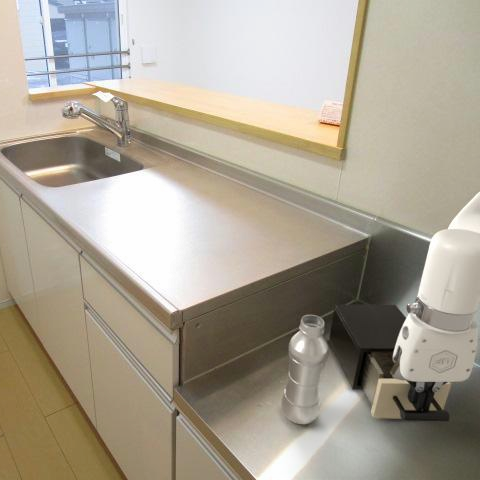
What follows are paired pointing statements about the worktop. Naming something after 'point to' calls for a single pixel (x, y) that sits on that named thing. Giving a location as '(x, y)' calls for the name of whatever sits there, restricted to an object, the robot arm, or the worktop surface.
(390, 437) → the worktop surface
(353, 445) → the worktop surface
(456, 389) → the worktop surface
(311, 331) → the plastic bottle
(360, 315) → the black rectangular box
